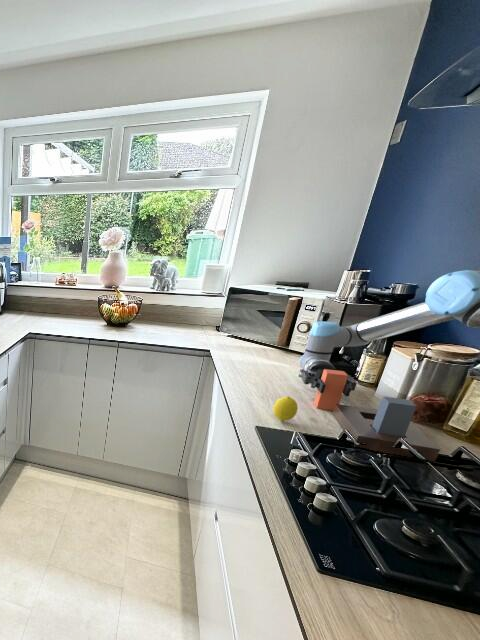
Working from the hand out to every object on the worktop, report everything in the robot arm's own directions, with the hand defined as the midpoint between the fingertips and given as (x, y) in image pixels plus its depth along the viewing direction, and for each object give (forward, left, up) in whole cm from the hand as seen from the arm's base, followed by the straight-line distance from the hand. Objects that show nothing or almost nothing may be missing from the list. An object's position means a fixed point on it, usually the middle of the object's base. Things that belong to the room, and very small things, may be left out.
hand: (335, 390), depth 122 cm
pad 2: (-16, +12, -8) cm, 21 cm away
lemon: (+5, +19, -8) cm, 21 cm away
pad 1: (+3, -5, -8) cm, 9 cm away
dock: (-13, +7, -8) cm, 17 cm away
